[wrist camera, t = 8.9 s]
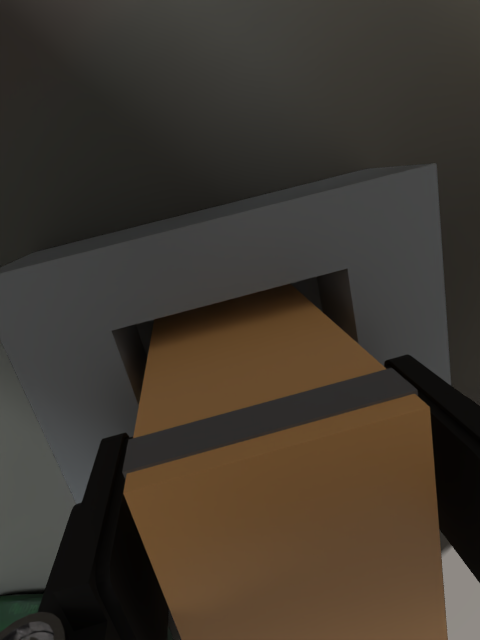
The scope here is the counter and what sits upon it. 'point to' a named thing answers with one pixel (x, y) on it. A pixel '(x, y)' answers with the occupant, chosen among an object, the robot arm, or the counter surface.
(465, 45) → the counter surface
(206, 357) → the block
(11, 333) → the holder
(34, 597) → the coffee jar
